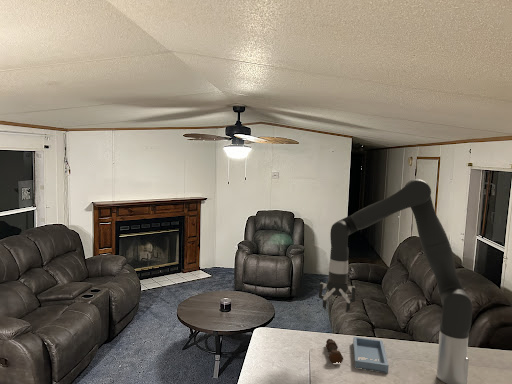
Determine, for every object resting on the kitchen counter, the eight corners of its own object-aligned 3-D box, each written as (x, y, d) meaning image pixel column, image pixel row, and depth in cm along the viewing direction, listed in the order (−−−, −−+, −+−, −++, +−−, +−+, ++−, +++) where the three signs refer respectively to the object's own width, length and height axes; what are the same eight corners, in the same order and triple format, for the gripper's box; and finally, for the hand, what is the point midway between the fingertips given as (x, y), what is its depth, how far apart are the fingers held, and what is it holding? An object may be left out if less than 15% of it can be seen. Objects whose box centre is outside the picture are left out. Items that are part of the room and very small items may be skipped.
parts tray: (382, 347, 159) (382, 340, 159) (388, 373, 139) (388, 365, 139) (353, 343, 162) (353, 336, 162) (354, 368, 141) (355, 360, 141)
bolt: (331, 350, 159) (337, 368, 144) (321, 344, 159) (326, 361, 144) (338, 339, 158) (345, 356, 143) (328, 333, 158) (334, 349, 143)
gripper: (356, 269, 151) (353, 308, 152) (320, 266, 154) (318, 304, 155) (357, 275, 144) (354, 316, 145) (319, 271, 147) (317, 311, 148)
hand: (335, 310), depth 150 cm, fingers open, 8 cm apart
